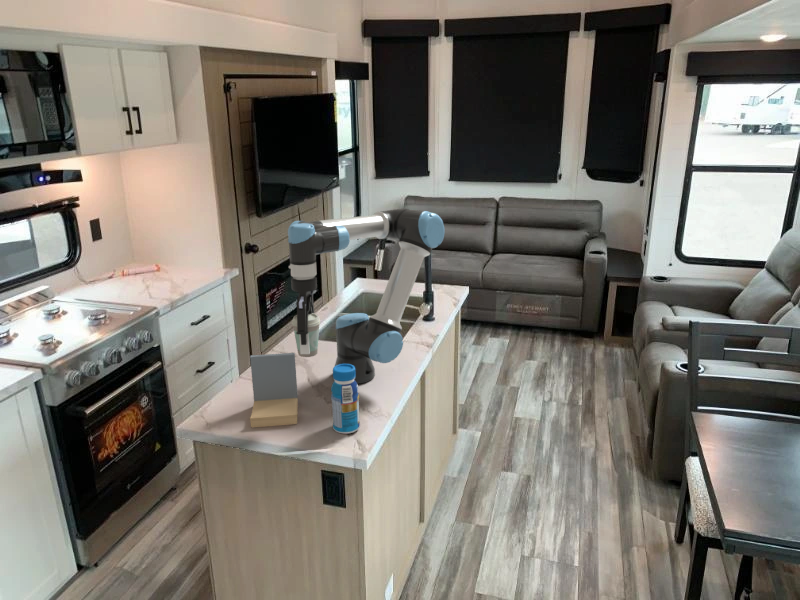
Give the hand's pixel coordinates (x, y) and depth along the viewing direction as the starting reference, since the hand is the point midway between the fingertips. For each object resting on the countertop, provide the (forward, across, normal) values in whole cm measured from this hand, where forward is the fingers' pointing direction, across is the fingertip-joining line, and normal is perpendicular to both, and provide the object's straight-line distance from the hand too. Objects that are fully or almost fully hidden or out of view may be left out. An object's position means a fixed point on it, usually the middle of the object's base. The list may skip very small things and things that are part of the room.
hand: (307, 348), depth 181 cm
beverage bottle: (+23, +7, +12) cm, 27 cm away
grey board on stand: (+23, -8, -13) cm, 28 cm away
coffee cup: (+2, 0, 0) cm, 2 cm away
